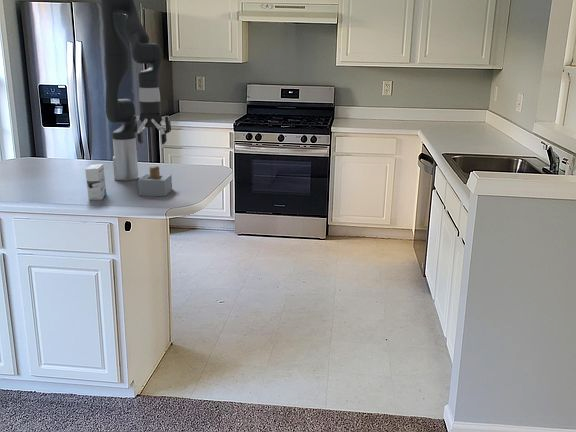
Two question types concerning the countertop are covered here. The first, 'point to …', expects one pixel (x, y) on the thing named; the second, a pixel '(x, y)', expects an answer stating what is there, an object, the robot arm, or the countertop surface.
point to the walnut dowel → (154, 172)
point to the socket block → (155, 185)
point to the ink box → (95, 182)
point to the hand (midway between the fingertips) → (152, 143)
